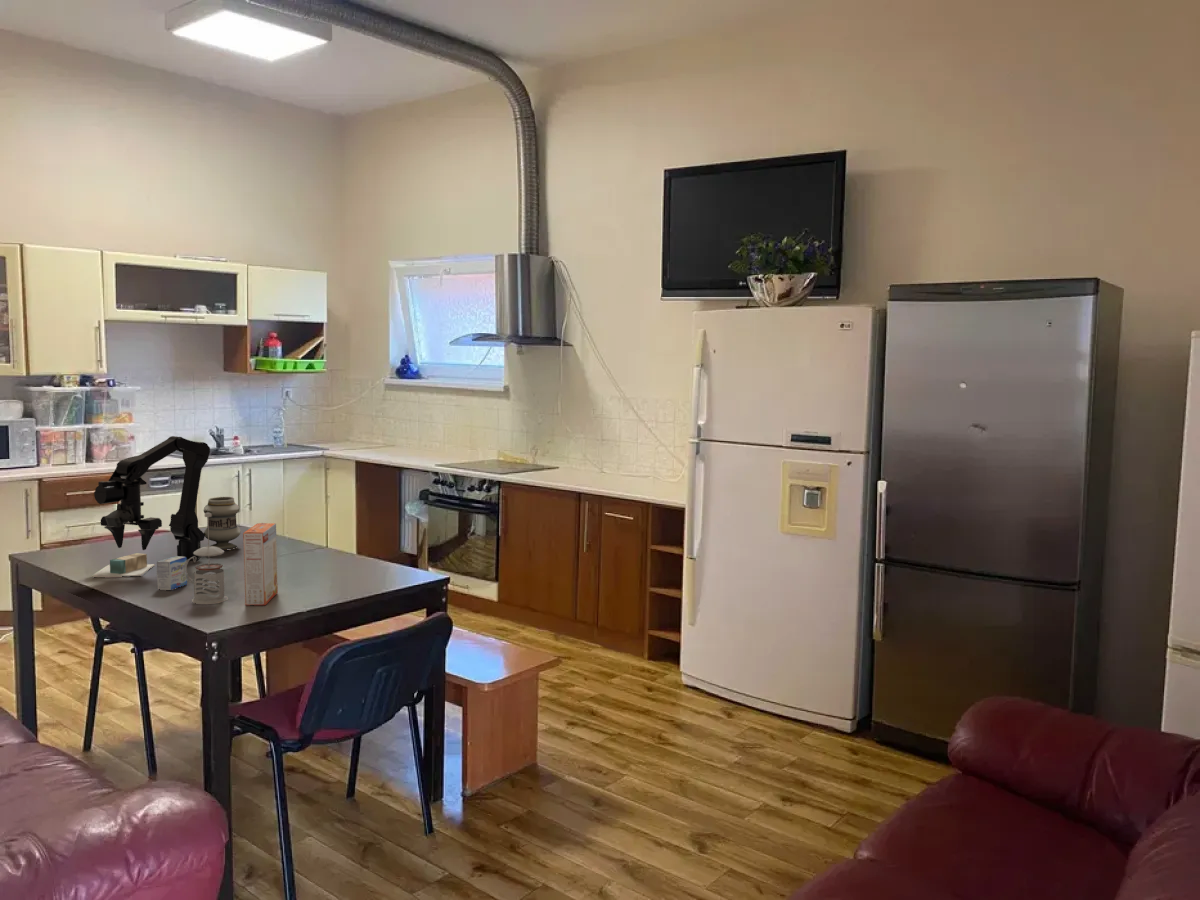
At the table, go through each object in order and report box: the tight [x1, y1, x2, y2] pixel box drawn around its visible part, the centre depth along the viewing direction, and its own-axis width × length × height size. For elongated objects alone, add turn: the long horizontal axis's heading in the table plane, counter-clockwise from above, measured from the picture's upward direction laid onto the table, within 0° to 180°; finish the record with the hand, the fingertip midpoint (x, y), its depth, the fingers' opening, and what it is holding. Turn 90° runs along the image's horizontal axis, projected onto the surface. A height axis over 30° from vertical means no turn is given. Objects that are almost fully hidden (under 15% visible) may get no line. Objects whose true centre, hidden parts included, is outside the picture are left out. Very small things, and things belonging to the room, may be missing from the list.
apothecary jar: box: [203, 496, 242, 550], centre depth 333 cm, size 12×12×18 cm
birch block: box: [109, 552, 148, 574], centre depth 296 cm, size 4×4×11 cm
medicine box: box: [156, 555, 188, 591], centre depth 278 cm, size 8×4×9 cm, turn 168°
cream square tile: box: [91, 563, 156, 579], centre depth 296 cm, size 14×15×1 cm
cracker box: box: [242, 522, 279, 607], centre depth 266 cm, size 14×6×21 cm, turn 5°
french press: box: [184, 512, 229, 605], centre depth 264 cm, size 10×12×25 cm
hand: (131, 548), depth 297 cm, fingers open, 9 cm apart
